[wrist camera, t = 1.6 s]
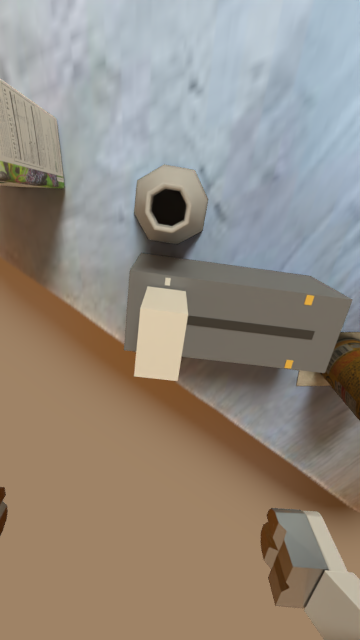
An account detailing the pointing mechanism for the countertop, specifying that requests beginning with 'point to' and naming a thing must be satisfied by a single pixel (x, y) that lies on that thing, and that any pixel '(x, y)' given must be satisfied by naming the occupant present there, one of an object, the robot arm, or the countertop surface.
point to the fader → (161, 333)
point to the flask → (170, 204)
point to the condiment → (340, 371)
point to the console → (244, 312)
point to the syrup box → (27, 143)
